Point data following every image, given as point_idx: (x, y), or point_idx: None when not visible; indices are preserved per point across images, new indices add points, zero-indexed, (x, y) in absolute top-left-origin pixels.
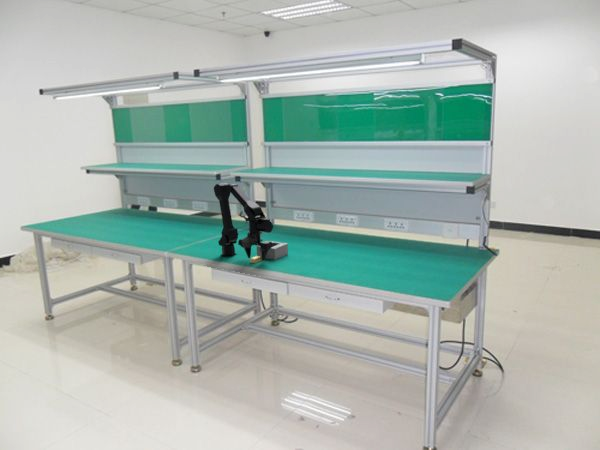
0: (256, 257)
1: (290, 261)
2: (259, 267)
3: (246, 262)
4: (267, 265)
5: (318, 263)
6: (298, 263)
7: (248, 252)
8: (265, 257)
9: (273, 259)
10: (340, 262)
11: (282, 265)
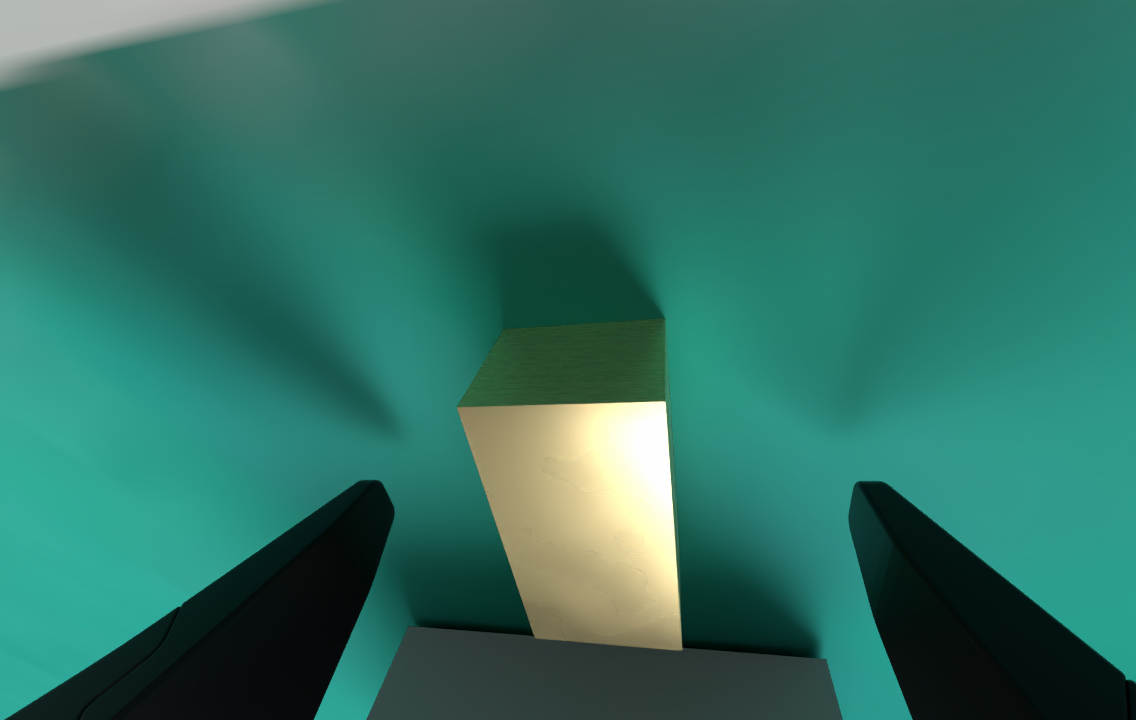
0: (561, 540)
1: None
2: (138, 164)
3: (805, 286)
4: (208, 382)
5: (34, 661)
6: (108, 614)
7: (971, 697)
8: (604, 655)
9: (438, 630)
10: (9, 710)
11: (96, 493)
